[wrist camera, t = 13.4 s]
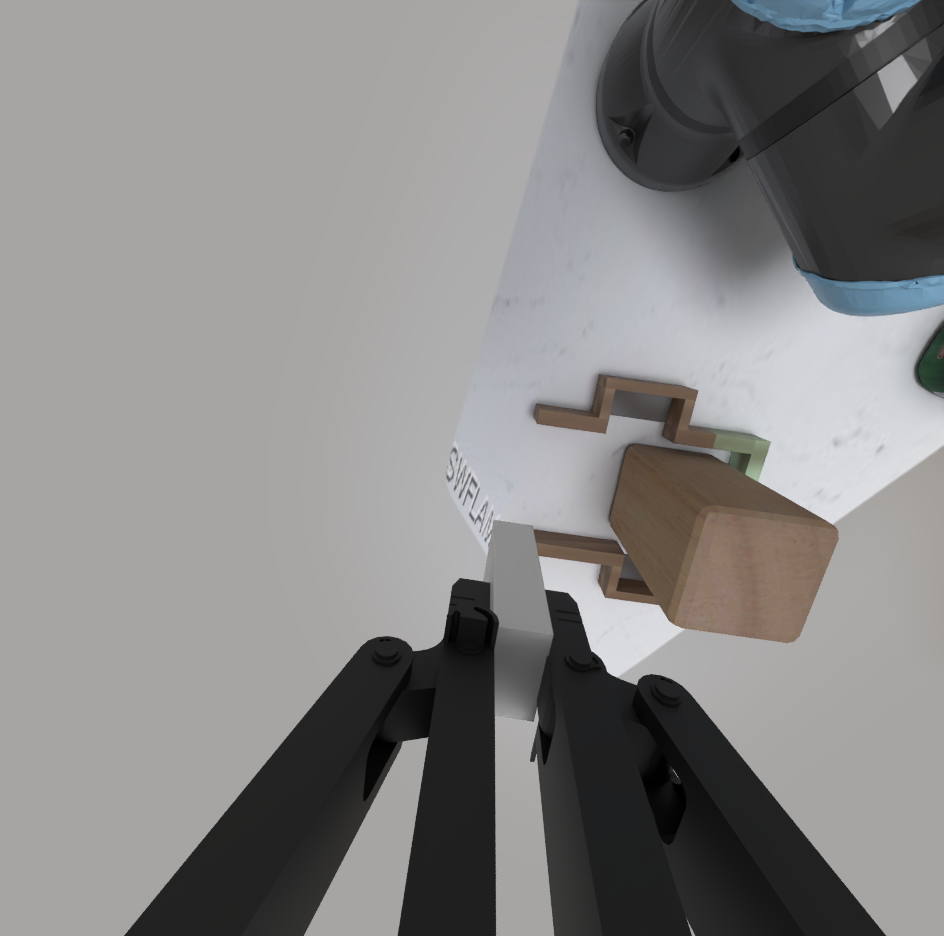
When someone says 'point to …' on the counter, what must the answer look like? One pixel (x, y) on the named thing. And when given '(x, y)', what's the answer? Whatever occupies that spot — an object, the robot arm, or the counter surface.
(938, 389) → the coffee jar
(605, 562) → the trap lane
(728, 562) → the block
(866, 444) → the counter surface
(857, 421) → the counter surface
